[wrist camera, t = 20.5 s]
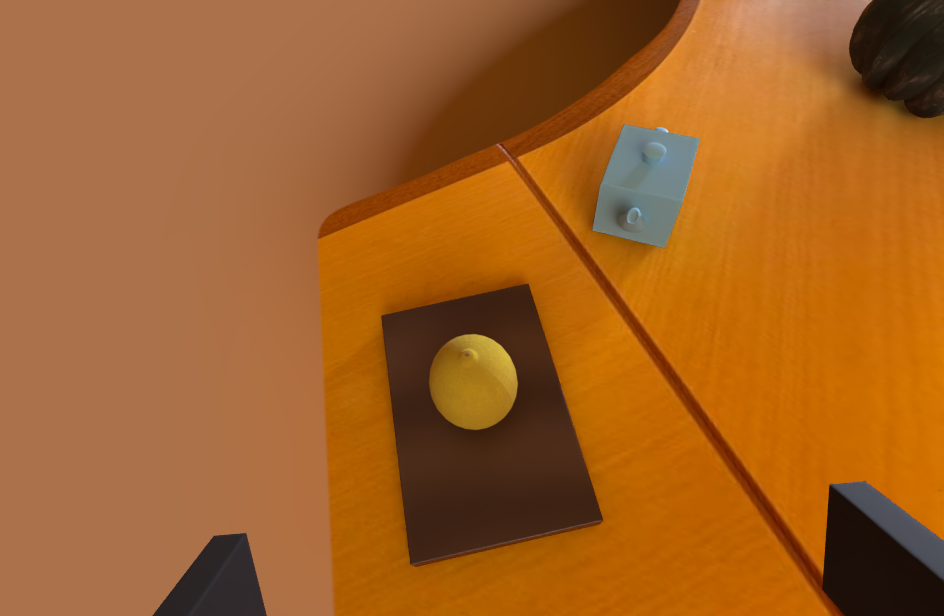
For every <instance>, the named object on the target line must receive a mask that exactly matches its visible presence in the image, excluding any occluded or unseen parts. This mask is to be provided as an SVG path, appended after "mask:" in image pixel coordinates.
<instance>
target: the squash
mask: <svg viewBox="0 0 944 616" xmlns="http://www.w3.org/2000/svg"><path fill="white" fill-rule="evenodd" d="M849 53H850V57H851V61H852V65H853V66H854V68H855V69H856V70H857V71H858V72H859V73H860V74H862V80H863V82H864V84H865V85H866V86H867V87H868V88H870V89H875V90H876V89H883V88H884V95H885V96H886V97H887V98H888V99H889V100H892V101H901V100H904V103H905V106H906V108H907V109H908V110H909V111H910V112H911V113H913V114H914V115H916V116H918V117H921V118H932V117H936V116H939V115H941V114H944V0H872V1H871V2H870V3H869V4H868V6H867V7H866V8H865V9H864V11H863V12H862V14H861V16H860V18H859V20H858V21H857V23H856V25H855V27H854V30H853V33H852V37H851V40H850V46H849Z"/></svg>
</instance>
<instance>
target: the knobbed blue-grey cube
mask: <svg viewBox="0 0 944 616" xmlns="http://www.w3.org/2000/svg"><path fill="white" fill-rule="evenodd" d="M699 141H700V139H699V138H694V137H689V136H684V135H679V134H673V133H668V130H667V129H665V128H656V129H655V130H652V129H646V128H641V127H635V126H630V125H625V124H624V125H623V128H622V130H621V133H620V135H619V138H618V141H617V143H616V146H615V148H614V151H613V153H612V156H611V159H610V161H609V164H608V166H607V169H606V172H605V174H604V177H603V179H602V182H601V185H600V190H599V196H598V201H597V207H596V212H595V218H594V223H593V229H592V230H593V231H597V232H601V233H605V234H609V235H613V236H617V237H621V238H625V239H629V240H633V241H638V242H642V243H646V244H650V245H654V246H658V247H662V248H665V246H666V244H667V241H668V239H669V236H670V234H671V231H672V229H673V226H674V223H675V221H676V218H677V216H678V213H679V211H680V208H681V205H682V203H683V199H684V196H685V192H686V188H687V185H688V181H689V177H690V174H691V170H692V166H693V163H694V159H695V155H696V152H697V148H698V144H699Z"/></svg>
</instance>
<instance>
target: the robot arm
mask: <svg viewBox="0 0 944 616" xmlns="http://www.w3.org/2000/svg"><path fill="white" fill-rule="evenodd" d="M822 589H823V591H824V592H825V593H826V594H827V595H828V597H829V598H830V599H831V600H832V601H833V602H834V604H835V605H836V606H837V607H838V608H839V609H840V611H841V612H842V613H843V614H844V615H845V616H944V541H943V540H942V539H940V538H939V537H938V536H936V535H935V534H934V533H933V532H931V531H930V530H929V529H927V528H926V527H925V526H923V525H922V524H921V523H919V522H918V521H917V520H915V519H914V518H913V517H912V516H910V515H909V514H908V513H906V512H905V511H904V510H902V509H901V508H900V507H898V506H897V505H896V504H894V503H893V502H892V501H890V500H889V499H888V498H887V497H885V496H884V495H883V494H881V493H880V492H879V491H877V490H876V489H875V488H873V487H872V486H871V485H869V484H868V483H867V482H866V481H865V482H853V483H841V484H830V485H829V500H828V514H827V529H826V543H825V558H824V572H823V587H822ZM153 616H267V615H266V611H265V608H264V603H263V599H262V595H261V591H260V587H259V583H258V579H257V575H256V571H255V567H254V563H253V559H252V555H251V551H250V547H249V543H248V539H247V535H246V533H242V534H231V535H219V536H213V538H212V539H211V540H210V542H209V543H208V544H207V545H206V547H205V548H204V549H203V551H202V552H201V553H200V555H199V556H198V557H197V559H196V560H195V561H194V562H193V564H192V565H191V566H190V568H189V569H188V570H187V572H186V573H185V574H184V575H183V577H182V578H181V579H180V581H179V582H178V583H177V585H176V586H175V587H174V589H173V590H172V591H171V592H170V594H169V595H168V596H167V598H166V599H165V600H164V601H163V603H162V604H161V605H160V607H159V608H158V609H157V611H156V612H155V613H154V615H153Z"/></svg>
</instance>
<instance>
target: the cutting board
mask: <svg viewBox="0 0 944 616" xmlns="http://www.w3.org/2000/svg"><path fill="white" fill-rule="evenodd" d="M381 317H382V326H383V334H384V343H385V351H386V360H387V368H388V377H389V385H390V394H391V402H392V411H393V420H394V428H395V437H396V445H397V454H398V462H399V471H400V479H401V488H402V497H403V505H404V514H405V522H406V531H407V539H408V548H409V556H410V564H411V565H412V566H415V567H417V566H421V565H426V564H430V563H434V562H439V561H443V560H447V559H452V558H456V557H460V556H465V555H469V554H473V553H478V552H482V551H486V550H491V549H495V548H499V547H503V546H508V545H512V544H516V543H521V542H525V541H529V540H534V539H538V538H542V537H547V536H551V535H555V534H560V533H564V532H568V531H573V530H577V529H581V528H586V527H590V526H594V525H599V524H600V523H601V522H602V521H603V518H602V515H601V511H600V508H599V505H598V502H597V499H596V496H595V492H594V489H593V486H592V483H591V480H590V477H589V474H588V470H587V467H586V464H585V461H584V458H583V455H582V451H581V448H580V445H579V442H578V439H577V436H576V432H575V429H574V426H573V423H572V420H571V417H570V414H569V410H568V407H567V404H566V401H565V398H564V395H563V391H562V388H561V385H560V382H559V379H558V376H557V373H556V369H555V366H554V363H553V360H552V357H551V354H550V350H549V347H548V344H547V341H546V338H545V335H544V332H543V328H542V325H541V322H540V319H539V316H538V313H537V309H536V306H535V303H534V300H533V297H532V294H531V291H530V287H529V284H524V285H520V286H515V287H510V288H506V289H501V290H497V291H492V292H487V293H483V294H478V295H474V296H469V297H464V298H460V299H455V300H451V301H446V302H441V303H437V304H432V305H428V306H423V307H418V308H414V309H409V310H405V311H400V312H395V313H391V314H386V315H382V316H381ZM471 334H476V335H482V336H485V337H487V338H490V339H492V340H494V341H495V342H497V343H498V344H499V345H501V346H502V347H503V349H504V350H505V351H506V352H507V354H508V355H509V356H510V358H511V360H512V362H513V364H514V367H515V369H516V374H517V381H518V386H517V394H516V398H515V401H514V403H513V406H512V408H511V409H510V411H509V412H508V413H507V415H506V416H505V417H504V418H503V419H502V420H500V421H499V422H498V423H496V424H495V425H492V426H490V427H488V428H484V429H479V430H472V429H465V428H462V427H459V426H456V425H454V424H453V423H451V422H450V421H448V420H447V419H445V417H444V416H443V415H442V414H441V413H440V412H439V411H438V409H437V407H436V405H435V403H434V401H433V399H432V397H431V392H430V386H429V377H430V369H431V366H432V363H433V360H434V358H435V356H436V355H437V353H438V352H439V350H440V349H441V348H442V347H443V346H444V345H445V344H446V343H447V342H449V341H451V340H452V339H454V338H456V337H459V336H463V335H471Z"/></svg>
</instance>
